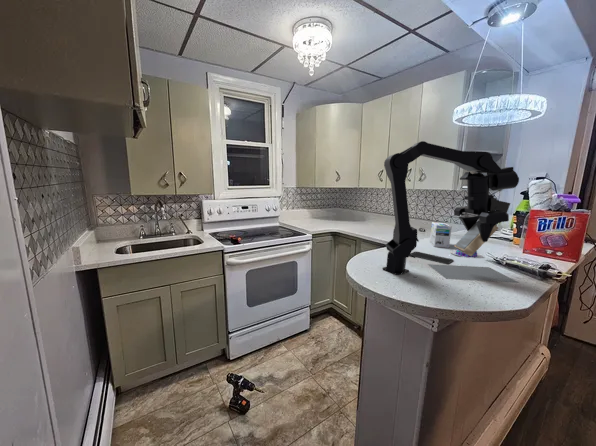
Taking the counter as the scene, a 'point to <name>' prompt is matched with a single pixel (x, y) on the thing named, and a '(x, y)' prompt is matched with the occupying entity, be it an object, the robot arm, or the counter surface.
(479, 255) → the purple checkered dome
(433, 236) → the light bulb box
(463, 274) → the rubber mat
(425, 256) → the phone
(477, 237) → the maple block
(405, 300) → the counter surface
